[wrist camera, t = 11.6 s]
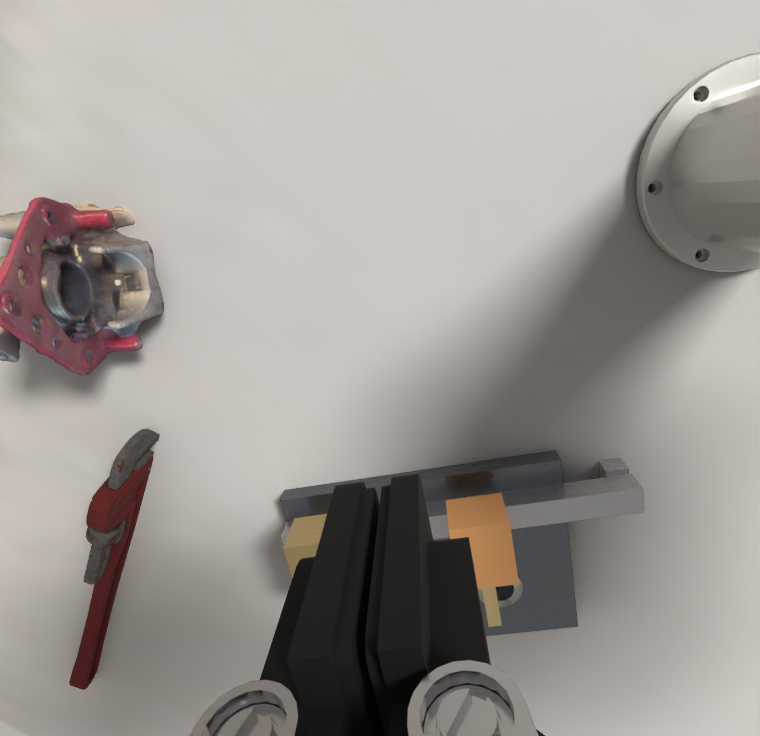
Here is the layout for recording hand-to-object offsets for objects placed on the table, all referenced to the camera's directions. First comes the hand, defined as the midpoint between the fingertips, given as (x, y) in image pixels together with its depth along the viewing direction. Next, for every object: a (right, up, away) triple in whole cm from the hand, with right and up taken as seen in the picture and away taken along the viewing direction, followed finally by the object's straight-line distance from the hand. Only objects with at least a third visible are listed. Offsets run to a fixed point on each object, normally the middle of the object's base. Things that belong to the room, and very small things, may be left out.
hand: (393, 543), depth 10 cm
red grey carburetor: (-21, +10, +27) cm, 35 cm away
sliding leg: (+8, -10, +29) cm, 32 cm away
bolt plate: (+7, -12, +32) cm, 35 cm away
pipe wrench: (-24, -14, +35) cm, 45 cm away
